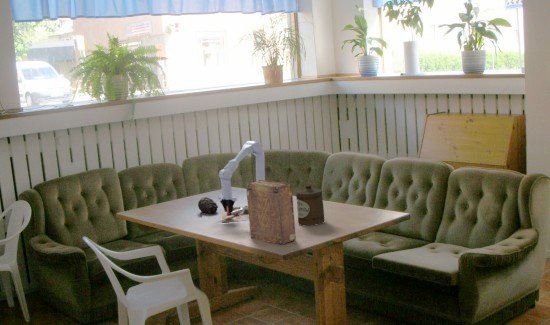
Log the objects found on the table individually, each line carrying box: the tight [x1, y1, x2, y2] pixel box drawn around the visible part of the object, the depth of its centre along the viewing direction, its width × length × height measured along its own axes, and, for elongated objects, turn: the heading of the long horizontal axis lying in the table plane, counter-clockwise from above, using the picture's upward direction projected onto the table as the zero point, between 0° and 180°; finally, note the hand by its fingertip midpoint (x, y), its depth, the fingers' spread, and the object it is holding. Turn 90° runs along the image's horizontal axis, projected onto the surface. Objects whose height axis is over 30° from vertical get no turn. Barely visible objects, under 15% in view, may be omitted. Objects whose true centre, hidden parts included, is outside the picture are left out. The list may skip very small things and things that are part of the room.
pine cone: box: [197, 197, 219, 215], centre depth 451 cm, size 10×18×10 cm, turn 33°
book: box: [245, 179, 297, 245], centre depth 375 cm, size 25×9×30 cm, turn 42°
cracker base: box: [221, 205, 249, 223], centre depth 436 cm, size 20×24×4 cm
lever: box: [226, 205, 248, 216], centre depth 437 cm, size 18×4×6 cm, turn 136°
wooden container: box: [295, 183, 326, 226], centre depth 405 cm, size 15×15×22 cm
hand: (228, 211), depth 432 cm, fingers open, 3 cm apart
